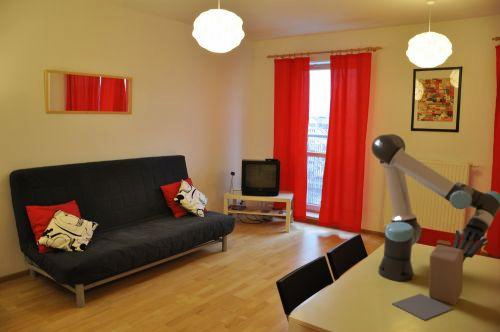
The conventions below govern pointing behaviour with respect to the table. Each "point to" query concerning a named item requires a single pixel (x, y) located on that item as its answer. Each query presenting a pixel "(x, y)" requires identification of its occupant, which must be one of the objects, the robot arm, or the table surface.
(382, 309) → the table surface
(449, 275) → the wooden block
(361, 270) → the table surface
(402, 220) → the robot arm
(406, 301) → the mat
